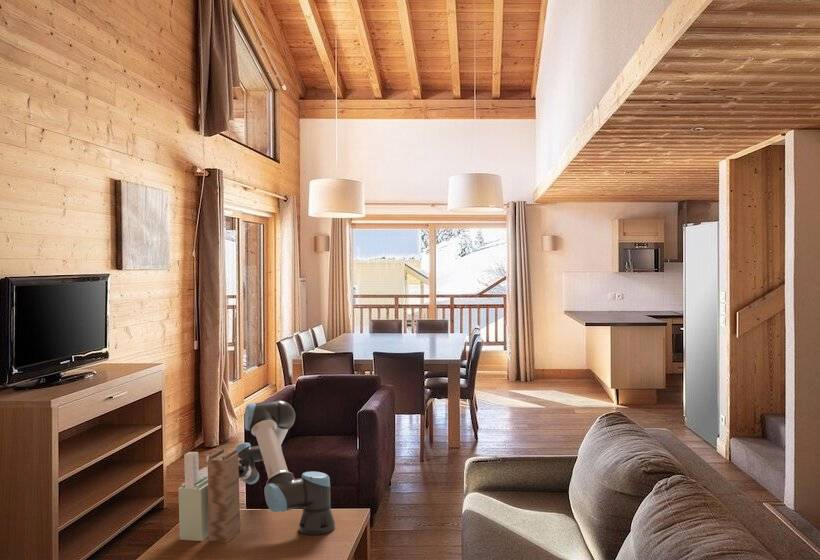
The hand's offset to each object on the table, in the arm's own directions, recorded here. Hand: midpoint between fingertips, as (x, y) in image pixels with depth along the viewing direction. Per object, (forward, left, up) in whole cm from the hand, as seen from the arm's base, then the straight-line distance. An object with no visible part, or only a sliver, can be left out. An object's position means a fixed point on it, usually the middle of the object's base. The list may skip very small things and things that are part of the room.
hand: (221, 458), depth 290 cm
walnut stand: (-12, +21, -26) cm, 35 cm away
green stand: (0, +21, -26) cm, 33 cm away
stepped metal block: (0, +17, -5) cm, 17 cm away
